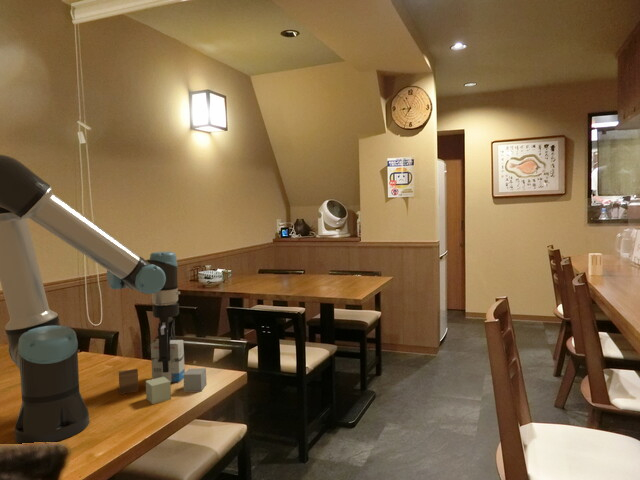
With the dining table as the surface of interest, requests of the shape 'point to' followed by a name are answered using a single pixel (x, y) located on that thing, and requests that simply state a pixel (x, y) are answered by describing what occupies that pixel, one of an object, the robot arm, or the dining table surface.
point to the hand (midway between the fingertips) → (168, 378)
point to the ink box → (175, 358)
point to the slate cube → (194, 380)
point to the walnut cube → (128, 381)
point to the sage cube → (158, 390)
